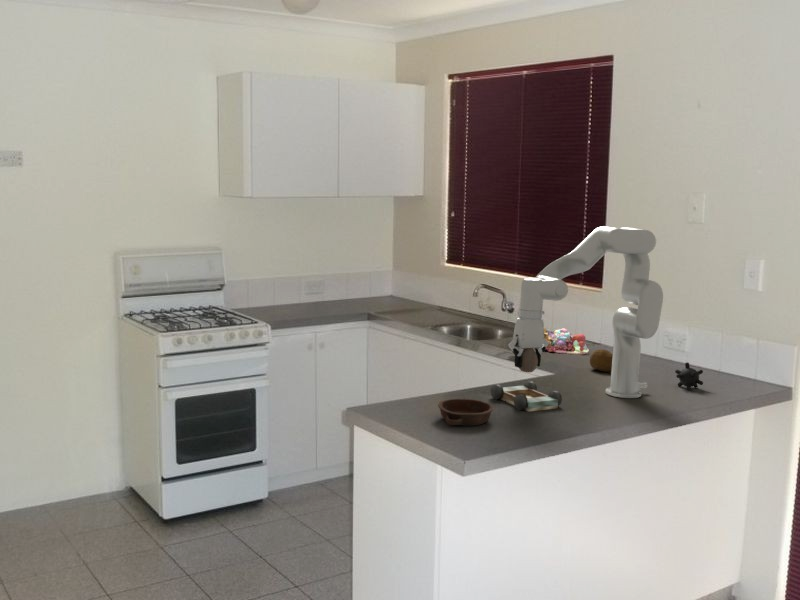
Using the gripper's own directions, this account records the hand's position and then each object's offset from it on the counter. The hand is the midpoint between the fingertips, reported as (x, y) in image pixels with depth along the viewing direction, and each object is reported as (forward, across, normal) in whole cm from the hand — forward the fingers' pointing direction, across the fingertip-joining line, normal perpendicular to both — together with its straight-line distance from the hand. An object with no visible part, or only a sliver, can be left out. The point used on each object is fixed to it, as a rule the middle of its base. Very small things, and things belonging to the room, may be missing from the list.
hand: (527, 366), depth 295 cm
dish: (+13, +31, +11) cm, 35 cm away
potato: (+13, -59, -29) cm, 67 cm away
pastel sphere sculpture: (+13, -71, -72) cm, 102 cm away
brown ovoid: (+2, 0, 0) cm, 2 cm away
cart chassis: (+13, 0, 0) cm, 13 cm away
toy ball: (+13, -72, +4) cm, 73 cm away
